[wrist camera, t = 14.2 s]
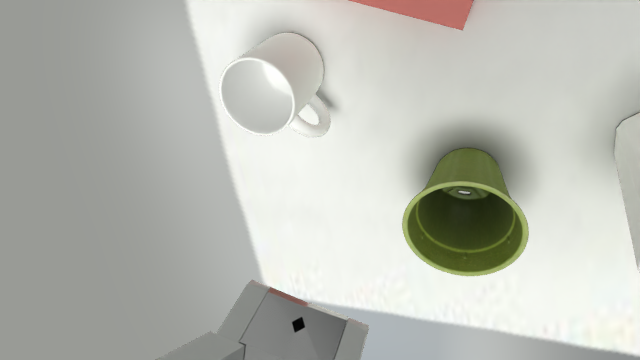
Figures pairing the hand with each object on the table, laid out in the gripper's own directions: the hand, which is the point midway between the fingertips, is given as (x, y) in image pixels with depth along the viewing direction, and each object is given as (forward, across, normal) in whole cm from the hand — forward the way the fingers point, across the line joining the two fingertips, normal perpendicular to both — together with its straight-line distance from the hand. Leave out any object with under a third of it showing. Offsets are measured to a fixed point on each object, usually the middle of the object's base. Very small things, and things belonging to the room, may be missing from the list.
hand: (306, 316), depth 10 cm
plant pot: (+41, -9, +18) cm, 46 cm away
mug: (+41, +13, +12) cm, 44 cm away
